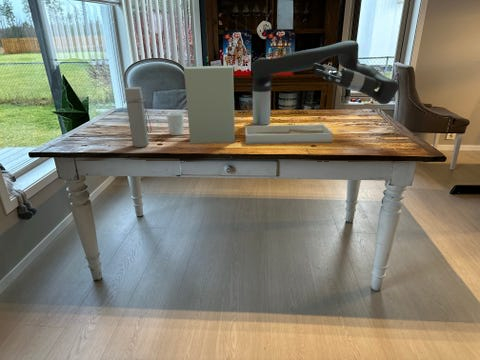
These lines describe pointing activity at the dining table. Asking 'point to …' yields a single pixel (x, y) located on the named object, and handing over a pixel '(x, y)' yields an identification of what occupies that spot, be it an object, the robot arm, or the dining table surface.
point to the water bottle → (137, 116)
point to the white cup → (175, 123)
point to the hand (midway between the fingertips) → (314, 68)
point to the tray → (287, 138)
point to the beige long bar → (291, 131)
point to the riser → (210, 104)
